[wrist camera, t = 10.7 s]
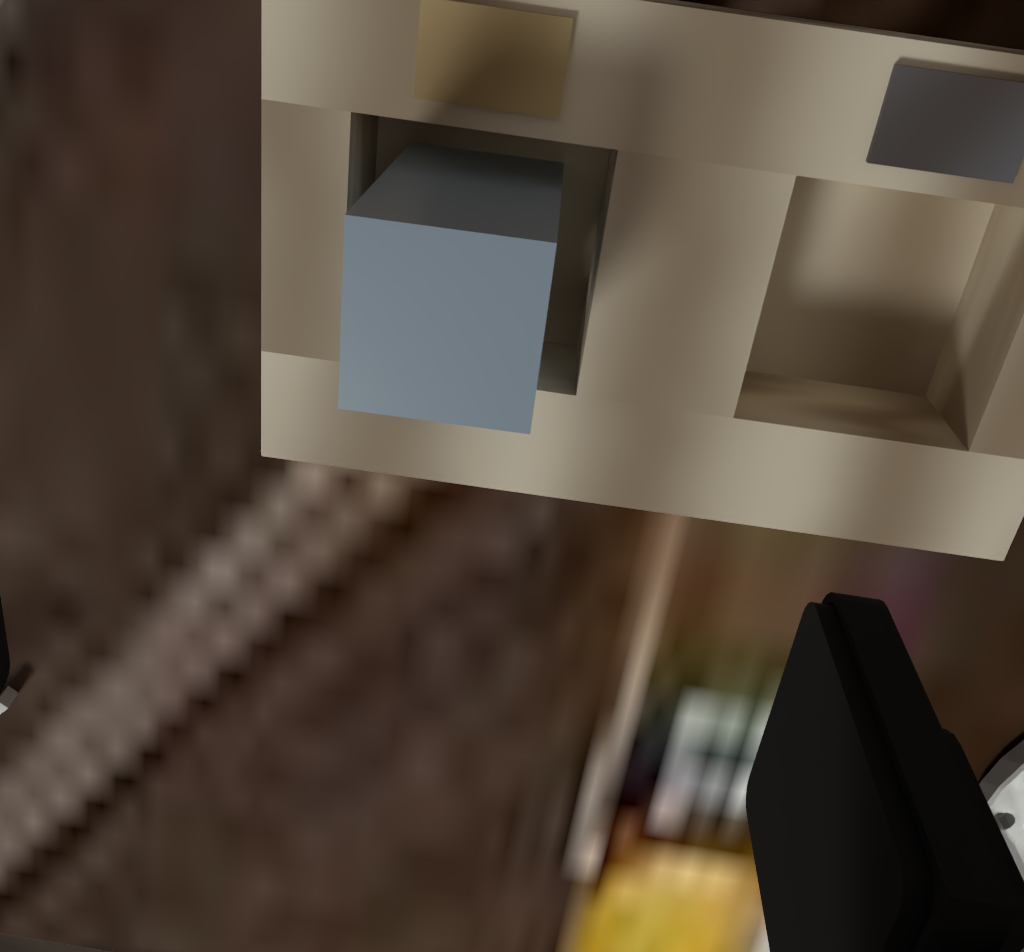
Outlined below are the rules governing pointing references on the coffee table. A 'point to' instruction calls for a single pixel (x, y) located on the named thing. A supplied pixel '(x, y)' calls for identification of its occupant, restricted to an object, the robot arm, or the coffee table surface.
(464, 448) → the socket block
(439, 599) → the coffee table surface
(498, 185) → the grey rectangular block
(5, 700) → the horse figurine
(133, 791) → the coffee table surface
